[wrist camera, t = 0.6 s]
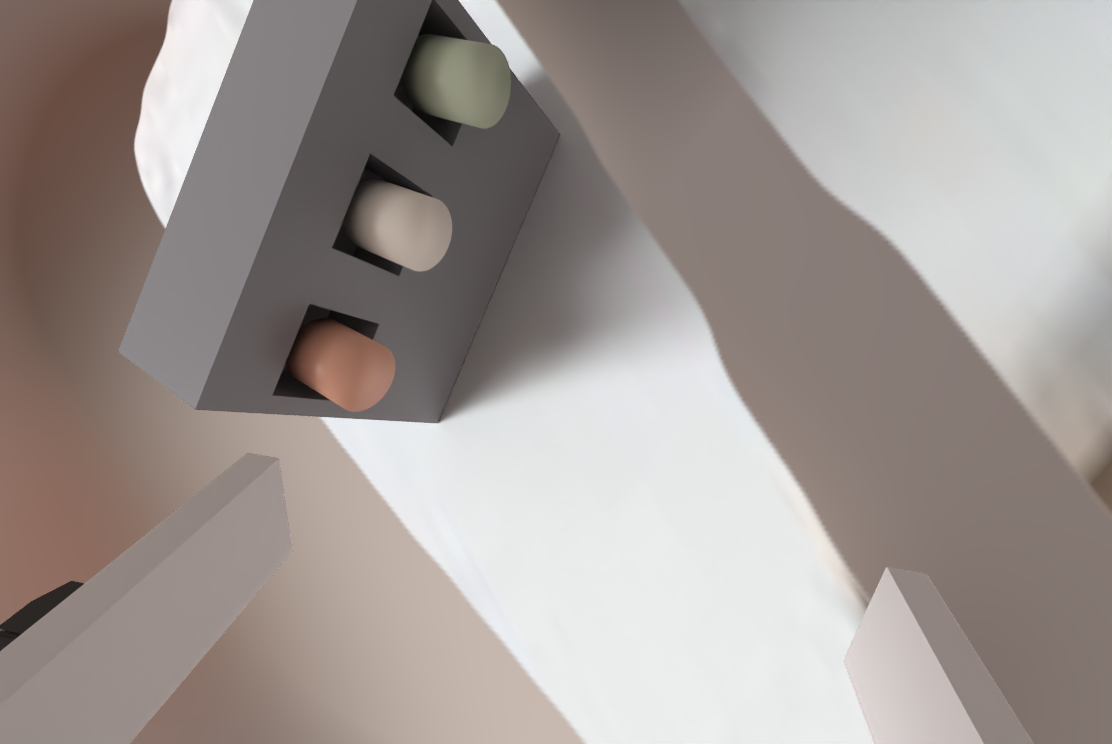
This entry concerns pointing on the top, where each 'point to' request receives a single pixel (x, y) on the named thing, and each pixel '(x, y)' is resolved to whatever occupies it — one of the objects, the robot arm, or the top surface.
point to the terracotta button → (341, 364)
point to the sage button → (458, 80)
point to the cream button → (398, 224)
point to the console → (330, 214)
